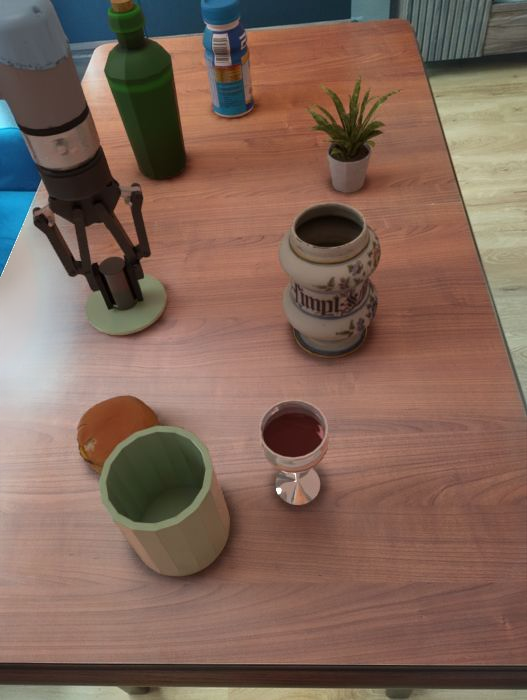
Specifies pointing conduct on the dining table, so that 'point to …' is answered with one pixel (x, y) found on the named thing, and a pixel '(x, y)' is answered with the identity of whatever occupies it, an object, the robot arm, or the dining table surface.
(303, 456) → the wineglass
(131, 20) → the bottle
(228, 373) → the dining table surface
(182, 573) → the canister
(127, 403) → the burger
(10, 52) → the robot arm
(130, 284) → the lid
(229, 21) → the beverage bottle
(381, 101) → the house plant
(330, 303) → the apothecary jar
